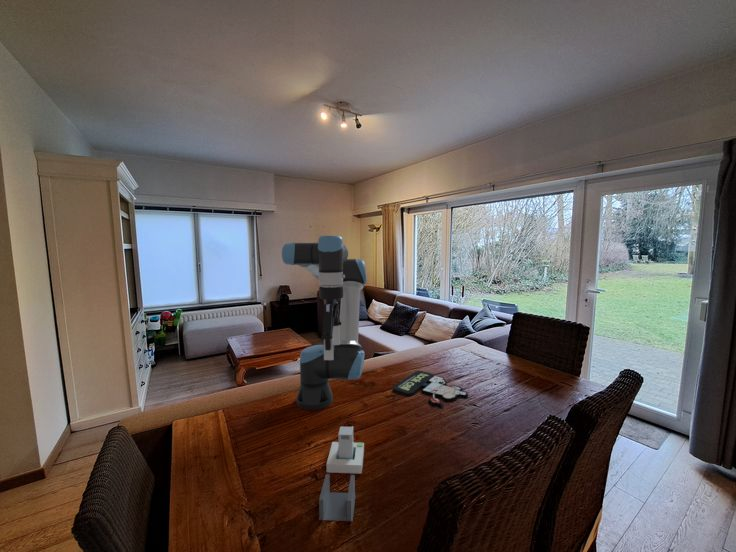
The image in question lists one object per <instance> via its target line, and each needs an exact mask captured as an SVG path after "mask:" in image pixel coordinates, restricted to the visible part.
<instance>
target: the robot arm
mask: <svg viewBox="0 0 736 552" xmlns="http://www.w3.org/2000/svg"><path fill="white" fill-rule="evenodd" d="M317 240H318V242H287V243H285V244H283V246H282V248H281V259H282V262H283V263H284V264H285V265H289V266H290V265H291V266H294V265H295V266H299V267H301V268H303V269H304V270H306V271H308V272H309V273H311V275H312V276H313V278H316V280H317V279H318V285H319V287H318V292H319V293H318V297H319V298H320V299H321V300H325V304H323V316H322V317H323V319H322V322H323V323H322V333H321V336H320V340H323V344H316V345H315V344H314V345H311V346H307V347H306V348H303V349H302V350H301V352H300V353H299V354H300V356H299V375H300V380H299V381H300V385H299V389H298V392H297V395H296V406H297V407H298V408H299V409H302V410H305V411H319V410H322V409H325V408H327V407H328V406H330V405H332V403H333V401H334V400H333V399H334V398H333V397H334V396H333V392H332V389H331V386H330V383H329V379H330V380H349V381H350V380H358V379H360V378H361V376H362V373H363V370H364V369H363V368H364V365H365V364H364V363H365V355H366V354H365V350H362V345H361V344H360V343H359V327H360V326H359V325H360V303H361V302H360V301H361V291H362V290H363V289H364V286H365V284H367V283H368V277H367V269H366V268H367V267H366V263H365V260H363V259H360V258H349V254H350V253H349V249H348V247H347V245H345V244H343V237H342V236H341V235H321V236H319V237H318V239H317ZM339 300H340V307H339Z"/></svg>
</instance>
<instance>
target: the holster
mask: <svg viewBox="0 0 736 552" xmlns="http://www.w3.org/2000/svg"><path fill="white" fill-rule="evenodd" d="M330 475H331V474H330V473H326V474H325V477H324V480H323V483H322V487H321V491H320V495H319V497H318V498H319V499H318V504H319V505H318V507H319V508H318V511H319V516H318V521H335V522H337V521H340V522H341V521H342V522H343V521H344V522H353V519H354V512H355V504H356V502H355V501H356V497H357V495H356V494H357V493H355V492H356V491H355V490H356V487H355V485H356V483H355V482H356V480H355V479H356V477H355V476H356V475H355V474H350V477H349V485H348V492H336V491H335V492H334V491H333V492H331V482H330V480H331V476H330Z"/></svg>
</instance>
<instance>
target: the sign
mask: <svg viewBox="0 0 736 552" xmlns="http://www.w3.org/2000/svg"><path fill="white" fill-rule="evenodd" d="M447 383H448V382H447V381H446V379H445V377H443V376H440V375H434V374H433V373H430V372H427V371H422V370H416V371H415V372H413V373H412V374H410V375H408V376H406V377H405V378H404V379H401V380H400V381H399V382H398V383H396V384H395V385H393V386H392V392H394V393H397V394H400V395H402V396H406V397H412V396H413V395H415V394H416V393H418V392H419V391H420V390H421V391H420V392H421V394H424V395H426V396H430V397H429V398H428V404H430V405H431V406H433V407H438V408H442V409H443V408H444V403H443V402H442V401H444V402H449V403H451V402H454V401H456V400H458V399H459V398H462V399H467V398H468V397H469V393H468V392H466V391H464V390H463V388H462V387H461V386H460V385H447ZM439 398H441V399H439ZM441 400H442V401H441Z"/></svg>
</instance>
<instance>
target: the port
mask: <svg viewBox="0 0 736 552" xmlns="http://www.w3.org/2000/svg"><path fill="white" fill-rule="evenodd" d="M364 453H365V442H363V441H362V442H354V458H353V460H351V459H339V448H338V441H332V442H331V446H330V450H329V454H328V458H327V460H326V473H333V474H334V473H336V474H362V473H363V465H364Z"/></svg>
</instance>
